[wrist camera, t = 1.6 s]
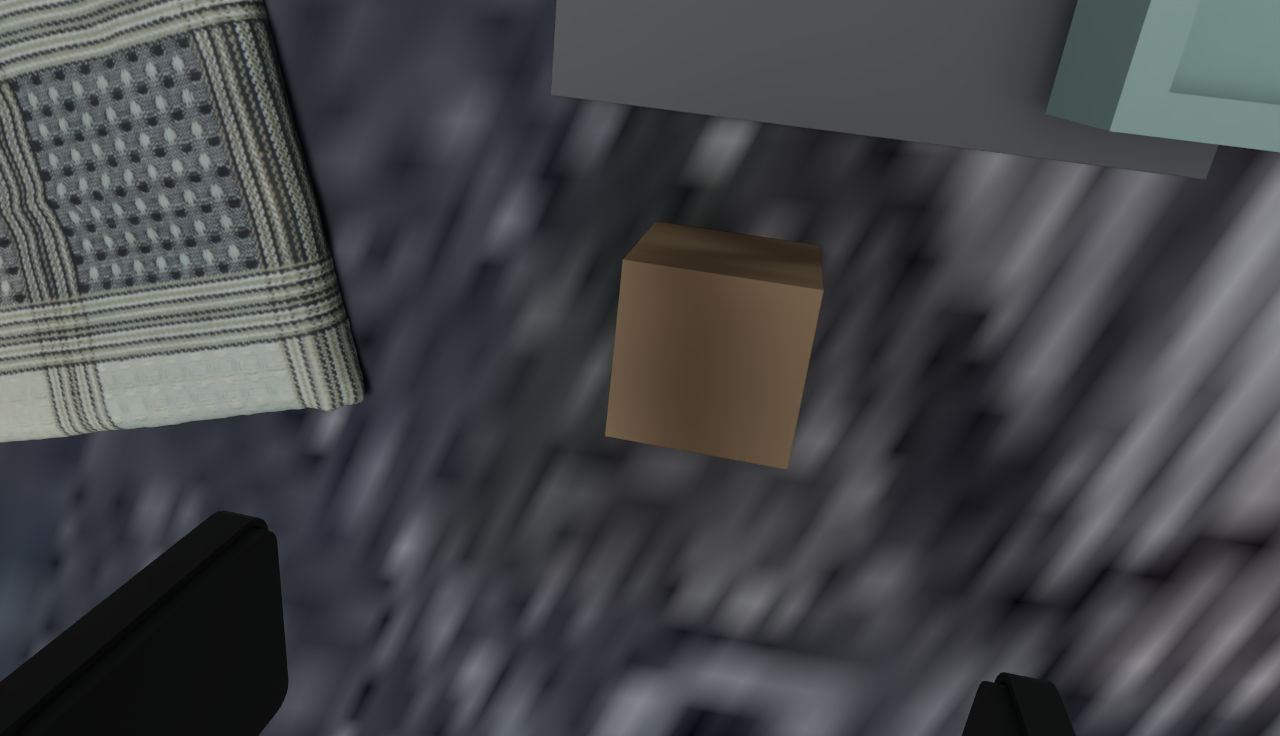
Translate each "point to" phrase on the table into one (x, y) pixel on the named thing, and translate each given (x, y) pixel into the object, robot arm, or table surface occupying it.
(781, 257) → the walnut block
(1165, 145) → the dock mat
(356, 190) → the table surface
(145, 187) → the dish towel
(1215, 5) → the mint green cubby
